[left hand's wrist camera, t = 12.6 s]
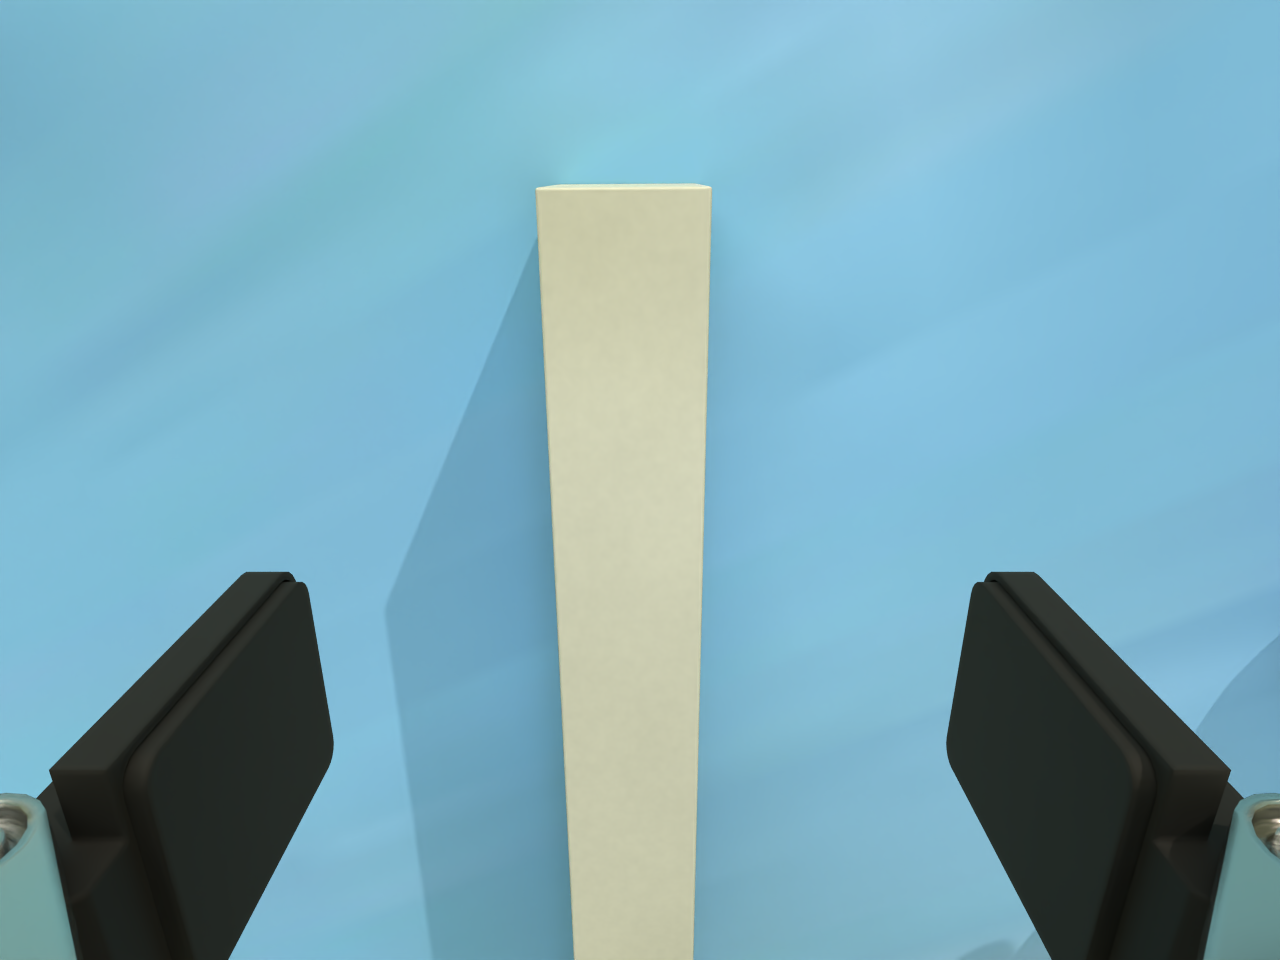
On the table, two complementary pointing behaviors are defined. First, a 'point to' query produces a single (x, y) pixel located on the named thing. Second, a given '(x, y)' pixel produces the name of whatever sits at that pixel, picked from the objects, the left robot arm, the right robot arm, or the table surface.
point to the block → (628, 546)
